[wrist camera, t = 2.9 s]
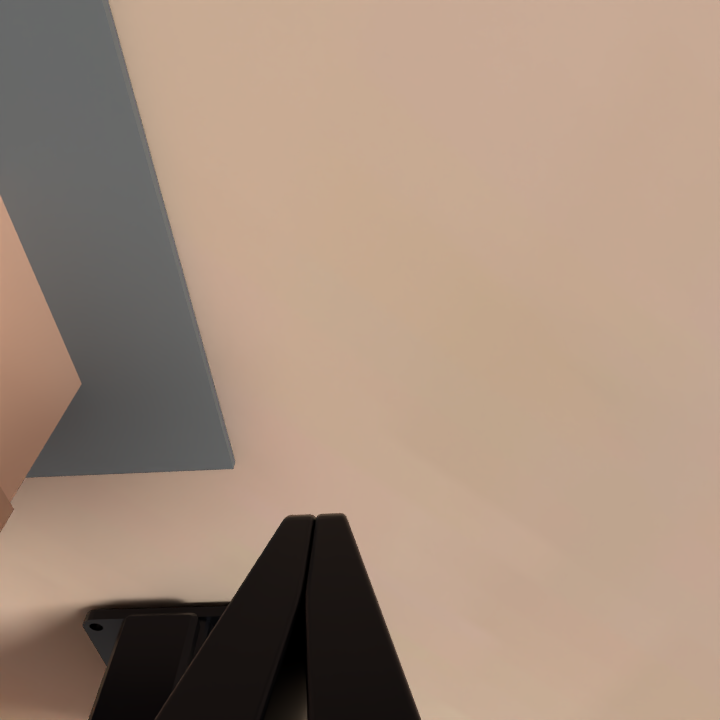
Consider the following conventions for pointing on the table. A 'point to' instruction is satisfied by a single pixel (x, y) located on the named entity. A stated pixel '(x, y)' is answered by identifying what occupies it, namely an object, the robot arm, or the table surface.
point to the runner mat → (101, 249)
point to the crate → (27, 367)
